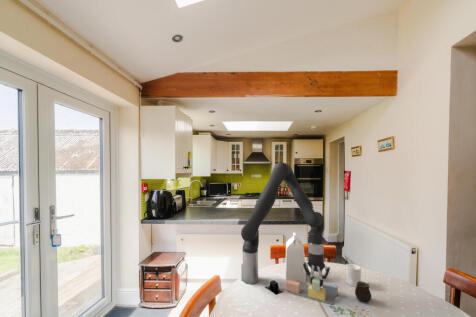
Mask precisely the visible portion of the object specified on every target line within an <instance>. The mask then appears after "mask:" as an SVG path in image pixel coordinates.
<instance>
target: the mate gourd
mask: <svg viewBox="0 0 476 317" xmlns="http://www.w3.org/2000/svg"><path fill="white" fill-rule="evenodd" d="M354 295H355V297H356V299H357V300H358V301H360V302H362V303H366V304H367V303H369V302H370V301H371V299H372V292H371V291H370V283H367V282H365V281H358V282H357V287H355V289H354Z"/></svg>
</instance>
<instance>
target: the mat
mask: <svg viewBox="0 0 476 317" xmlns="http://www.w3.org/2000/svg"><path fill="white" fill-rule="evenodd" d="M295 282H297V281H295ZM298 282H299V281H298ZM299 283H300V292H299V293H295V292H292V291H288V293H289V294H292V295H295V296H300V297H303V298H306V299H309V300H313V301H317V302H320V303H321V302H322V303H324V304H328V305H332V306H333V305H334V303H335V298H336V295H332V294H328V293H326V298H325V301H324V300H320V299H316V298H313V297H309V296H308V287H309V285H310V284H308V283H305V282H299Z"/></svg>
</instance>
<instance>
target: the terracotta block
mask: <svg viewBox="0 0 476 317" xmlns="http://www.w3.org/2000/svg"><path fill="white" fill-rule="evenodd" d="M300 283H301V282H300ZM300 283H299V281H296V282H295V281H291V280H285V290H286V291H288V292H289V291H292V292H295V293H299V292H300Z"/></svg>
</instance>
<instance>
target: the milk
mask: <svg viewBox="0 0 476 317" xmlns="http://www.w3.org/2000/svg"><path fill="white" fill-rule="evenodd" d="M305 260H306V258H305V247H304V244H303V241H302V240H301V239H299V238H298V237H297V234H296V232H292V237H290V238H289V239H288V240H287V241H286V243H285V281H287V280H291V281H296V282H300V283H307V278H306V277H307V274H306V272H305V269H304V266H303V263H304V262H306V261H305Z"/></svg>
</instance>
